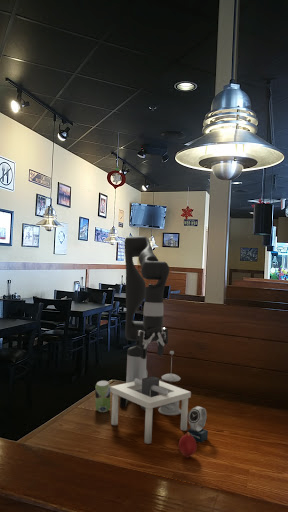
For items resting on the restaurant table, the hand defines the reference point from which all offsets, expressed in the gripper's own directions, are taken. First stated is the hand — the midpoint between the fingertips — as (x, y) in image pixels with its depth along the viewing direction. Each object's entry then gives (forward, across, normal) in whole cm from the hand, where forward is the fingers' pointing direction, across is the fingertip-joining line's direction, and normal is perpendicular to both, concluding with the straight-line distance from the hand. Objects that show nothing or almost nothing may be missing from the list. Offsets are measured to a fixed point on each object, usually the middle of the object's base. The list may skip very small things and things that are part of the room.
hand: (151, 357), depth 151 cm
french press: (+26, -18, -8) cm, 33 cm away
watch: (+26, -7, +18) cm, 33 cm away
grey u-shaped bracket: (+19, 0, 0) cm, 19 cm away
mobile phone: (+27, -10, -26) cm, 39 cm away
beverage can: (+26, +5, -23) cm, 35 cm away
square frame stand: (+26, 0, 0) cm, 26 cm away
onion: (+26, +6, +25) cm, 37 cm away
